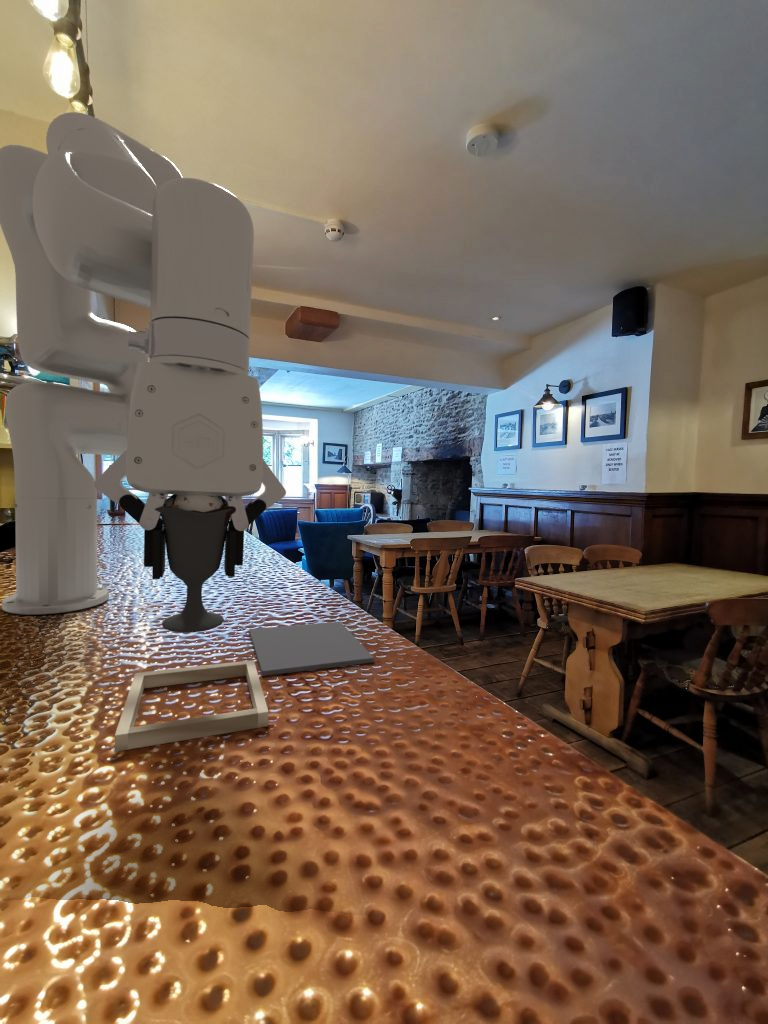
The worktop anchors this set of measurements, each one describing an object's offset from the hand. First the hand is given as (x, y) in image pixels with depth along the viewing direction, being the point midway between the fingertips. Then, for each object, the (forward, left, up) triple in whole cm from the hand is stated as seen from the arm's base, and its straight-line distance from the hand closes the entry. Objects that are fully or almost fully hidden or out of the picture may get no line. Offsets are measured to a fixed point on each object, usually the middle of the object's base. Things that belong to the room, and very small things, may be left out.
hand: (195, 572), depth 38 cm
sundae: (0, 0, -5) cm, 5 cm away
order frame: (+1, 0, -11) cm, 11 cm away
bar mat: (-10, +12, -12) cm, 19 cm away
